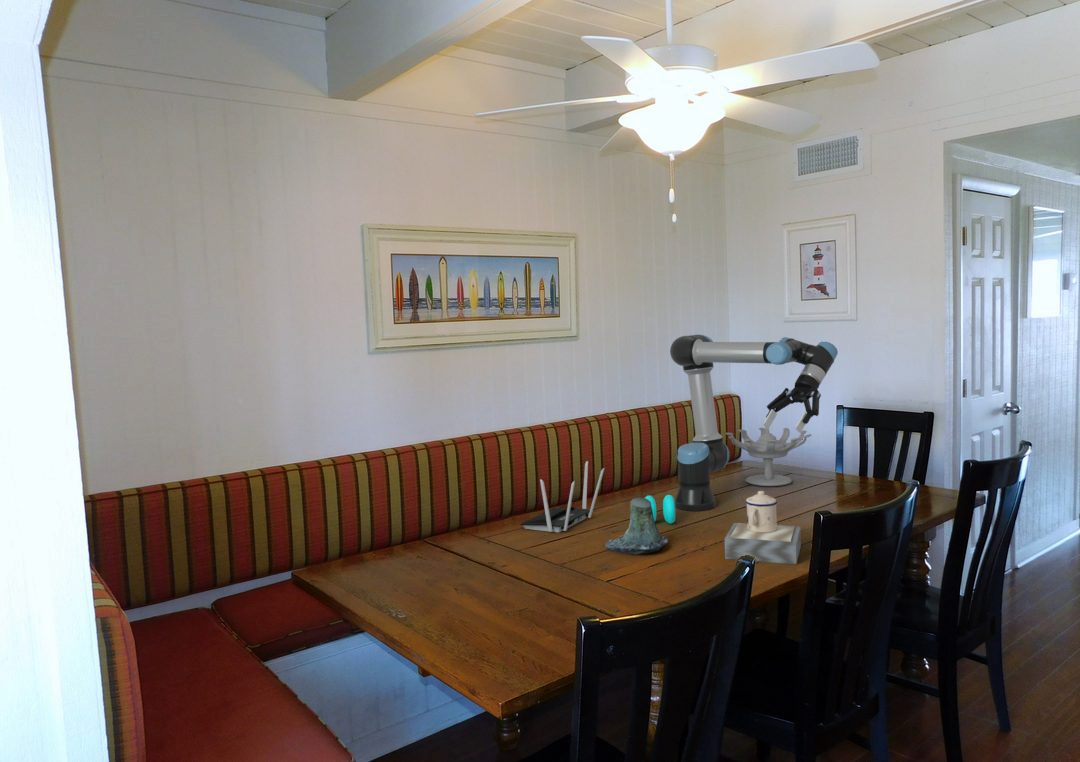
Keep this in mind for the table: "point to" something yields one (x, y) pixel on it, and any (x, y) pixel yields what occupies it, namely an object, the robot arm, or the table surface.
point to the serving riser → (764, 544)
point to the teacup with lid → (761, 513)
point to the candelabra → (768, 453)
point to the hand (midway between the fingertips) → (781, 428)
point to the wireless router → (563, 510)
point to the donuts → (664, 508)
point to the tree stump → (639, 531)
